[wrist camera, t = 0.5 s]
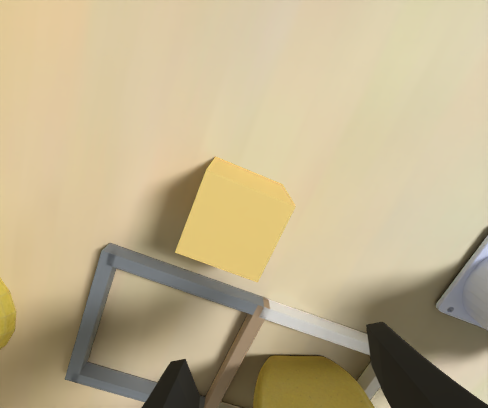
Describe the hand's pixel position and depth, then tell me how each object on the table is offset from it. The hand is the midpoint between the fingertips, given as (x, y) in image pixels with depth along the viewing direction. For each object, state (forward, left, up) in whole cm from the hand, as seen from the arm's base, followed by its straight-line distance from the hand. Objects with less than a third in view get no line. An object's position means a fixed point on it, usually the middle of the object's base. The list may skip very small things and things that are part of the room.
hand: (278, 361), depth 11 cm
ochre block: (+3, -2, -10) cm, 11 cm away
